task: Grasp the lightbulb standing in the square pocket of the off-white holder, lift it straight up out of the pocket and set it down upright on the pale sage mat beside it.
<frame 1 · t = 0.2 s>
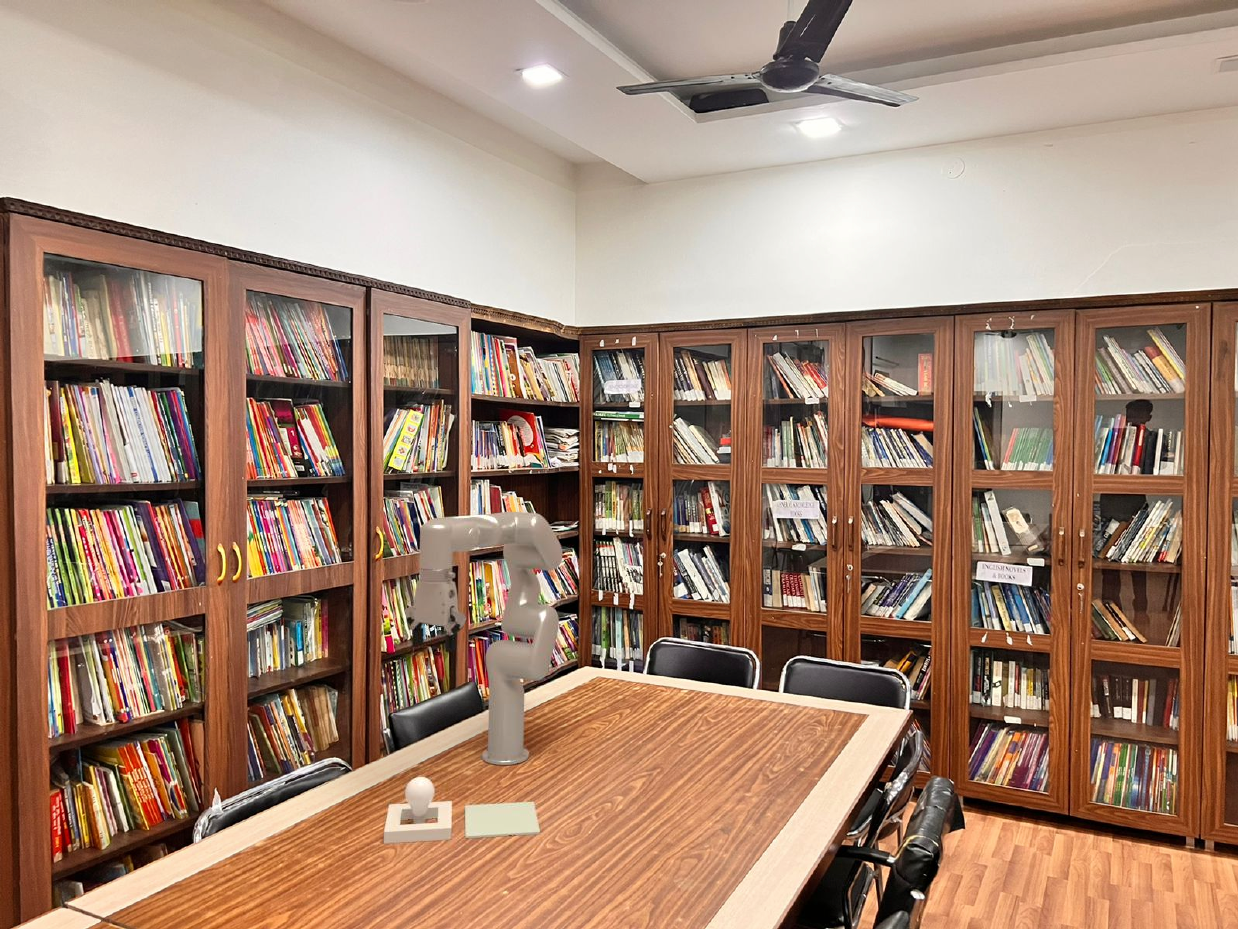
hand: (434, 648, 202), 37 cm above the table, tool pointing down, fingers open, 9 cm apart
sage mat: (501, 820, 195), on the table
lightbulb: (419, 828, 191), resting in pocket holder
pocket holder: (419, 827, 191), on the table
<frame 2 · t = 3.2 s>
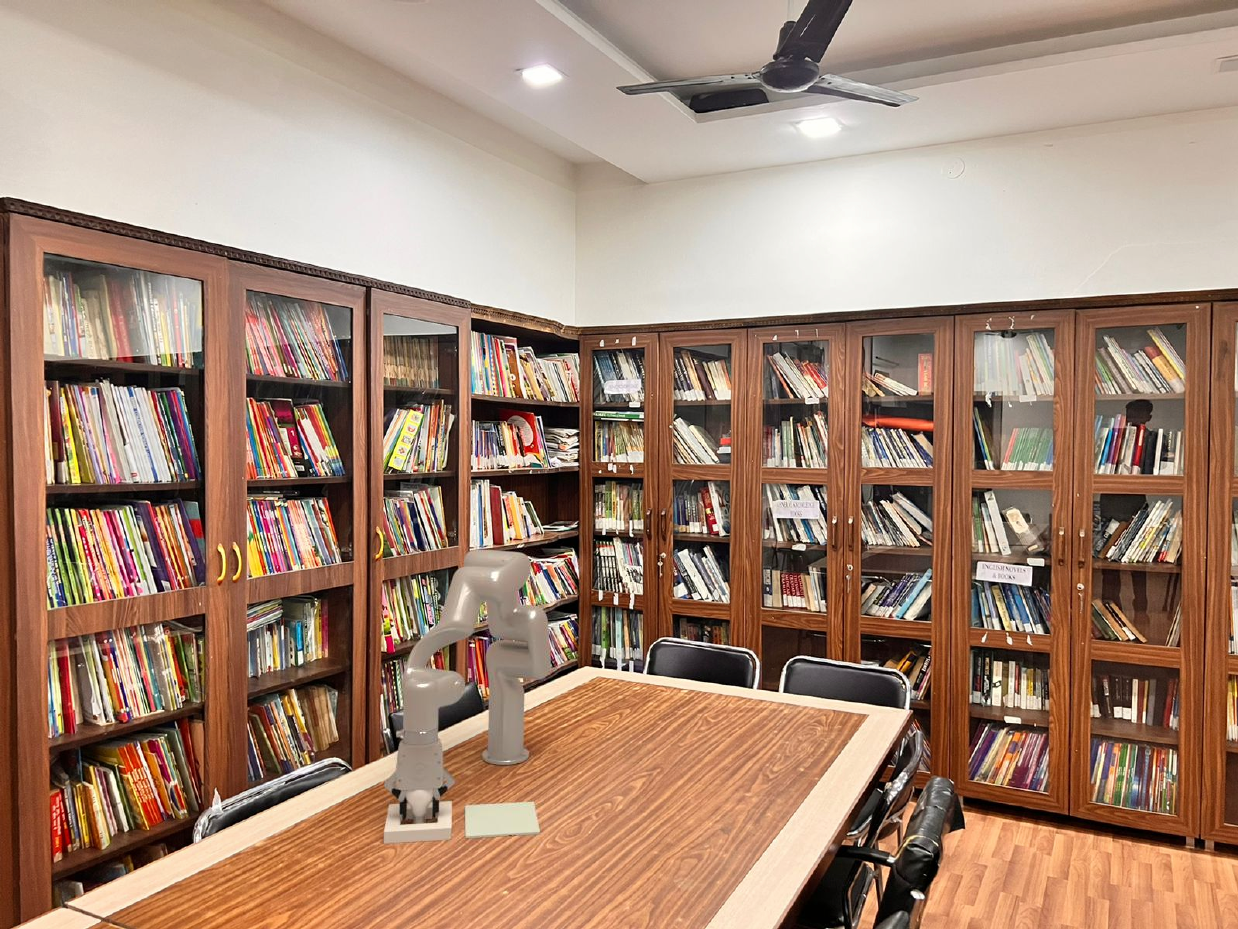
hand: (419, 815, 191), 3 cm above the table, tool pointing down, fingers closed on lightbulb, 5 cm apart
lightbulb: (419, 828, 191), resting in pocket holder, touching gripper
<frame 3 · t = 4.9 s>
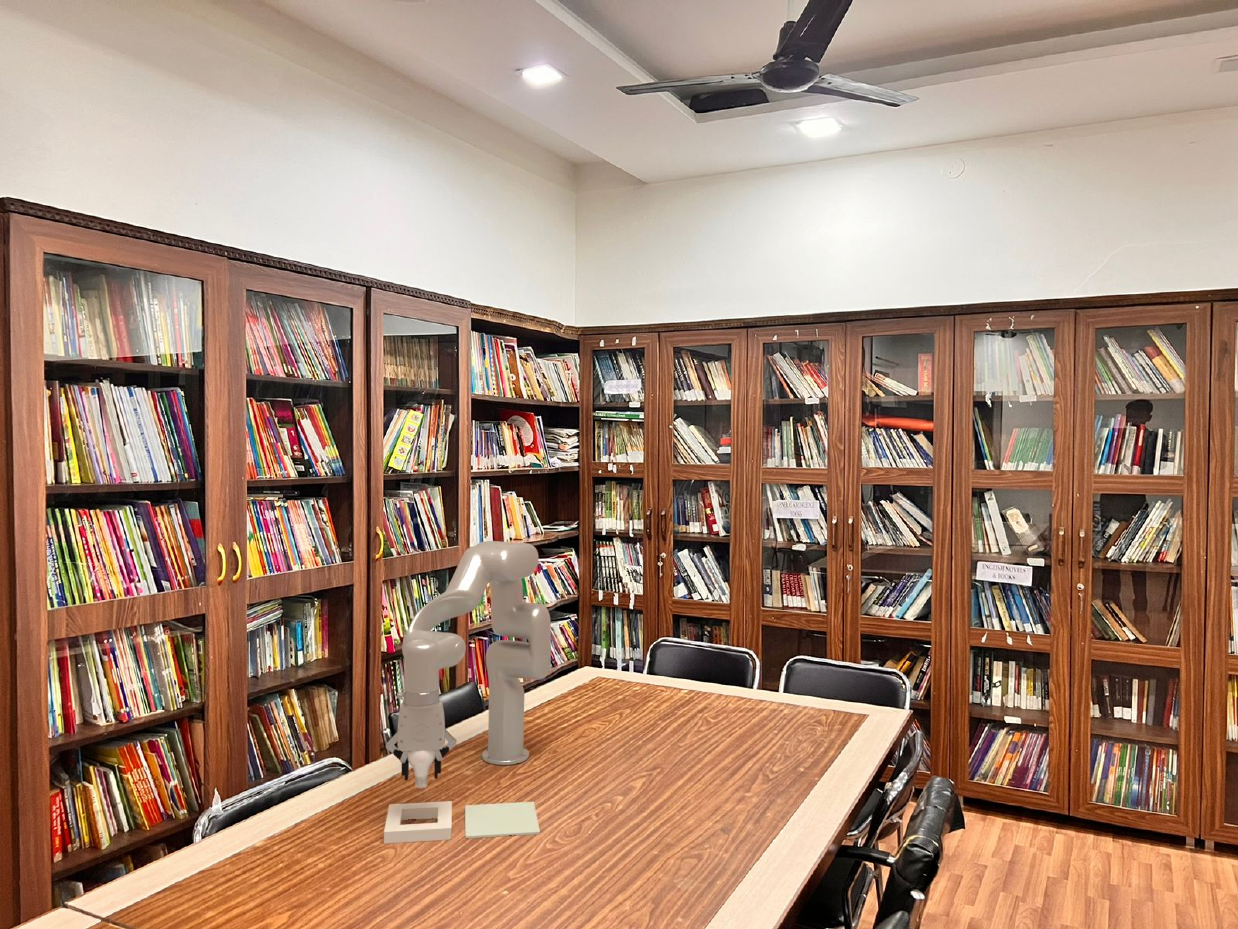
hand: (421, 776, 191), 11 cm above the table, tool pointing down, fingers closed on lightbulb, 5 cm apart
lightbulb: (421, 789, 191), point 8 cm above the table, touching gripper
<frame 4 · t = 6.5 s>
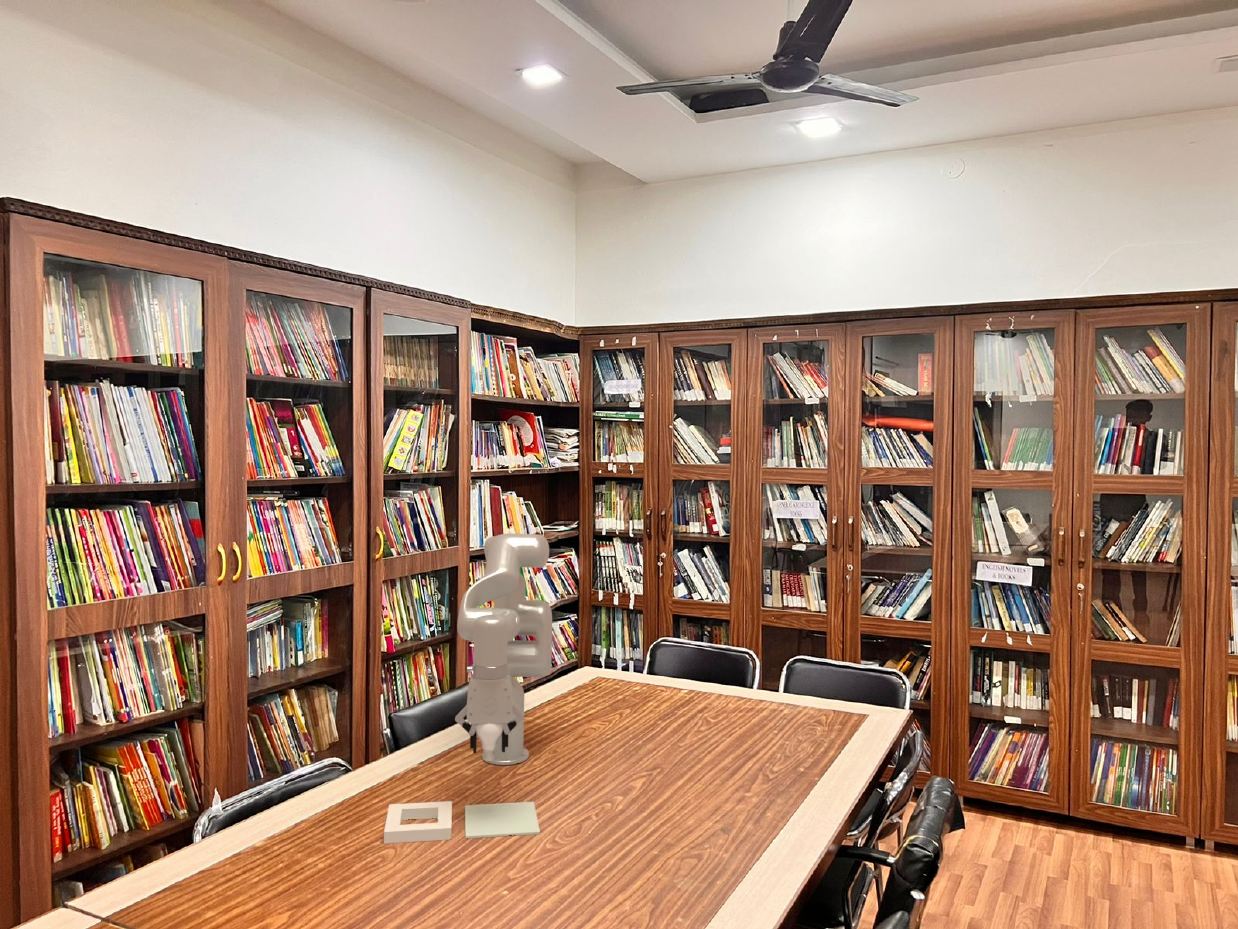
hand: (489, 750, 194), 16 cm above the table, tool pointing down, fingers closed on lightbulb, 5 cm apart
lightbulb: (488, 762, 194), point 13 cm above the table, touching gripper
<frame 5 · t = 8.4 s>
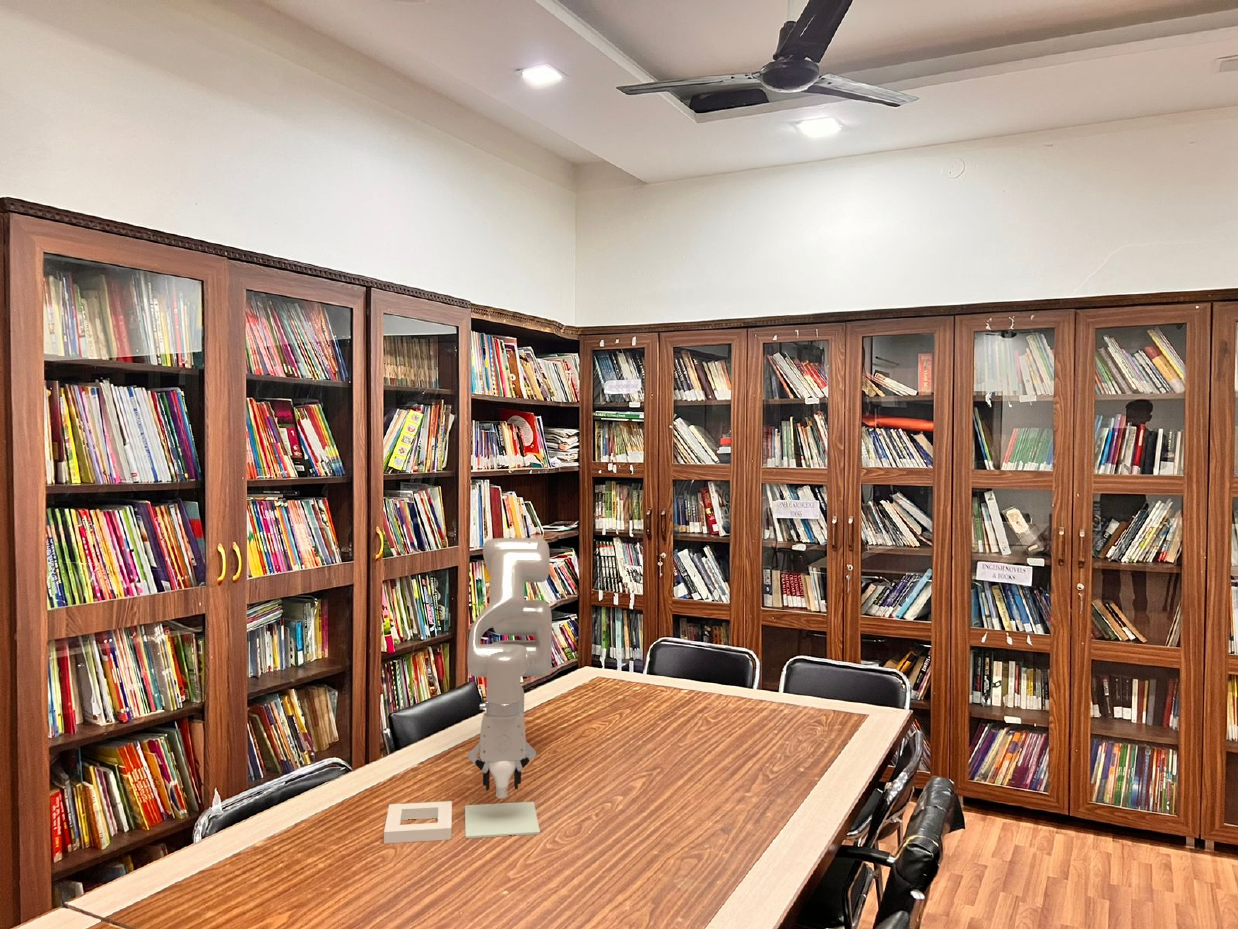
hand: (501, 787, 195), 8 cm above the table, tool pointing down, fingers closed on lightbulb, 5 cm apart
lightbulb: (501, 799, 195), point 5 cm above the table, touching gripper
when the fingers open (4 cm above the table, at t = 9.9 s): lightbulb drops 1 cm, resting on sage mat.
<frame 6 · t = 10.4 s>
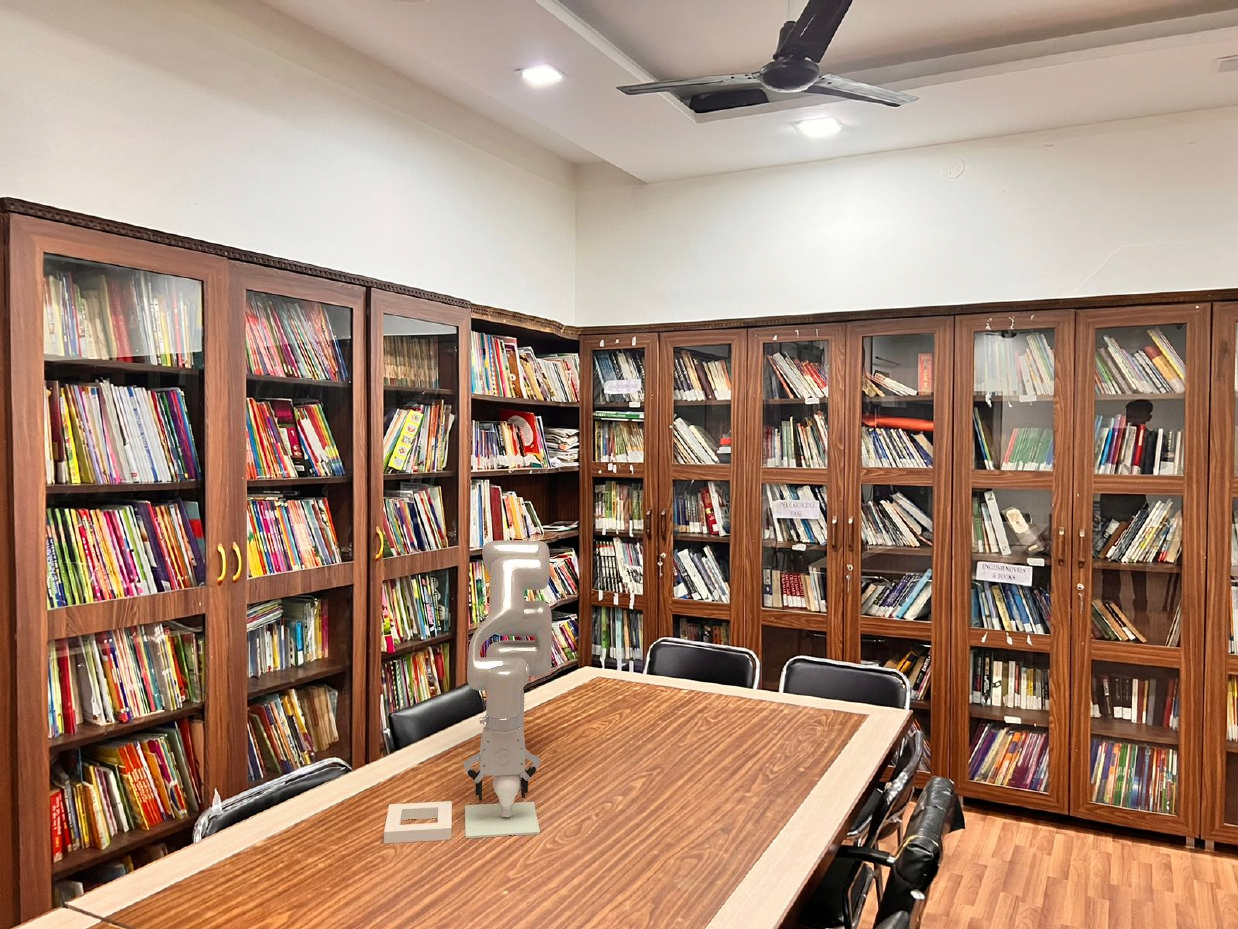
hand: (501, 797, 195), 5 cm above the table, tool pointing down, fingers open, 9 cm apart
lightbulb: (506, 818, 195), resting on sage mat
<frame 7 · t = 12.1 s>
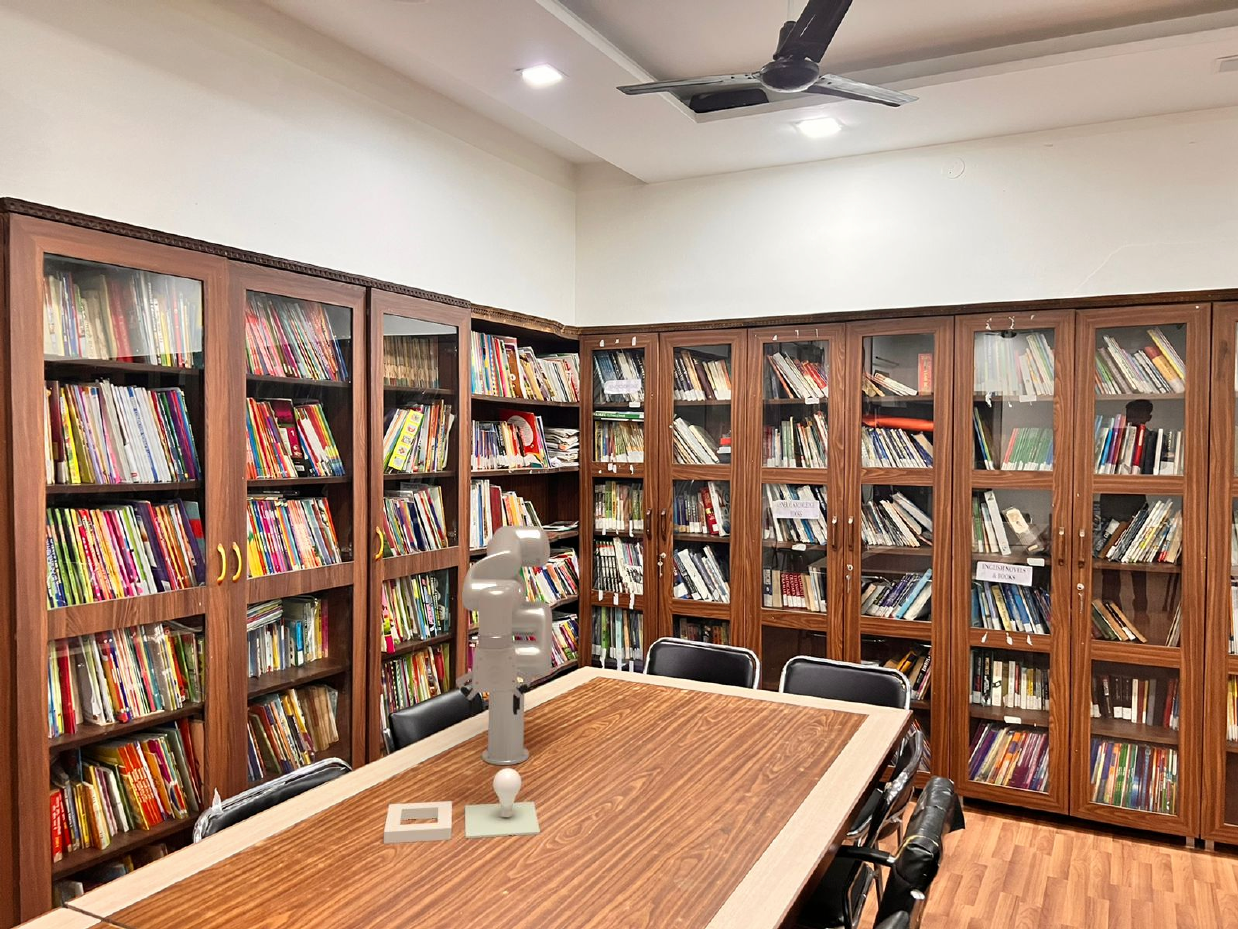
hand: (493, 713, 199), 23 cm above the table, tool pointing down, fingers open, 9 cm apart
nothing on the table moved.
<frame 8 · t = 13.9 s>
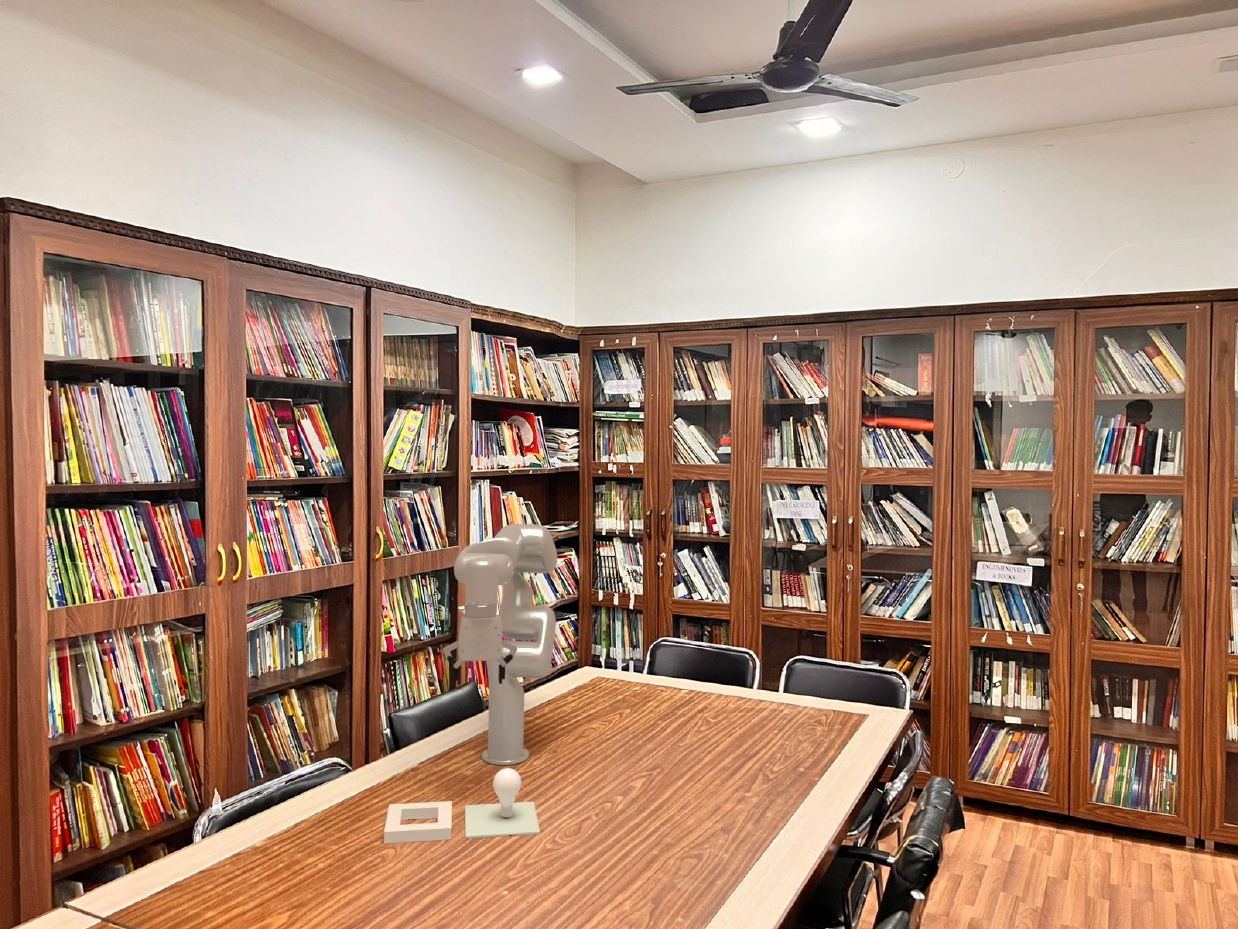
hand: (479, 683, 204), 28 cm above the table, tool pointing down, fingers open, 9 cm apart
nothing on the table moved.
at the end: lightbulb inside the target area on the sage mat (1.2 cm from its centre), point 0.3 cm above the sage mat's base; lightbulb tilted 0°; the gripper is holding nothing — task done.
